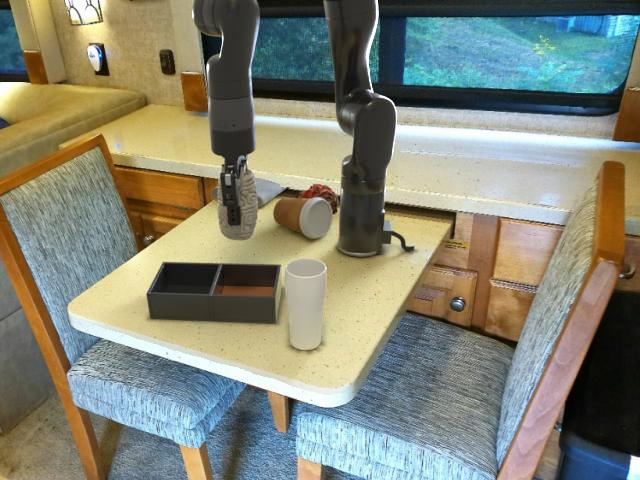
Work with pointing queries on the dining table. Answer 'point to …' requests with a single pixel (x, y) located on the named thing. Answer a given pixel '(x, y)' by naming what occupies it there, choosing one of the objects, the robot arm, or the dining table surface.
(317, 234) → the disposable coffee cup
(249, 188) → the carving
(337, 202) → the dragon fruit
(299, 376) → the dining table surface
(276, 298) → the storage box with compartments
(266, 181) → the hip flask
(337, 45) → the robot arm
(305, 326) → the drinking glass
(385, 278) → the dining table surface
